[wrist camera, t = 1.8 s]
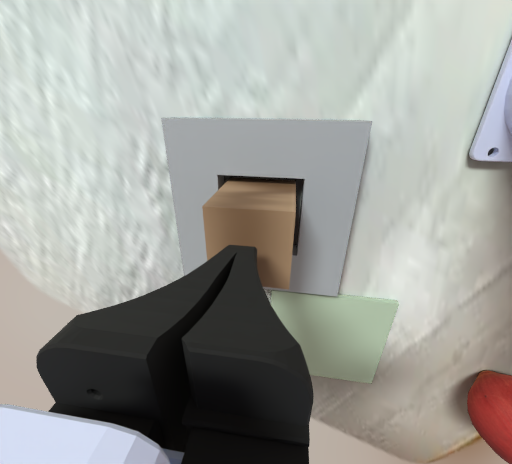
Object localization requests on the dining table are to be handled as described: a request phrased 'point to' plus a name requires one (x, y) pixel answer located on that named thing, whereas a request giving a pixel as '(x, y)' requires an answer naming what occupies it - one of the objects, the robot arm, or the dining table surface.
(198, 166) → the pocket board
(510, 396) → the onion
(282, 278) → the walnut block
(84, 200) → the dining table surface
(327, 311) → the felt mat
